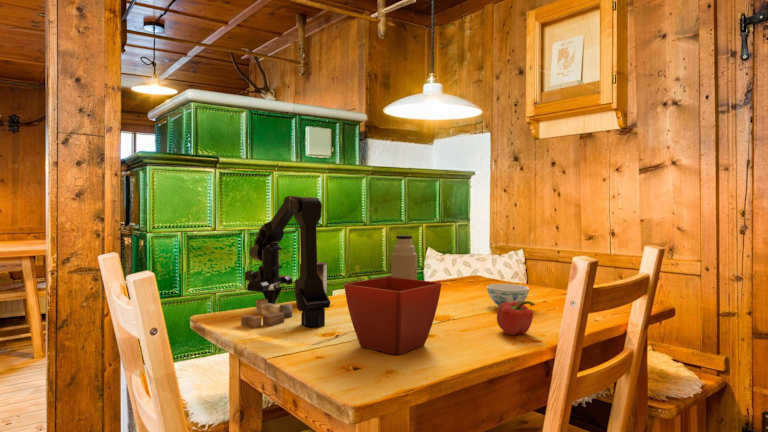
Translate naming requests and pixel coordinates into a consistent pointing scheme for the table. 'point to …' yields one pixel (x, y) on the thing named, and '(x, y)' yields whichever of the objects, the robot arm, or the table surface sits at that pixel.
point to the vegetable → (514, 317)
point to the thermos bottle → (404, 258)
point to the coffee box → (321, 273)
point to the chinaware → (507, 293)
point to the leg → (273, 308)
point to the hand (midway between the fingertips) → (270, 308)
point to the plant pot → (392, 312)
